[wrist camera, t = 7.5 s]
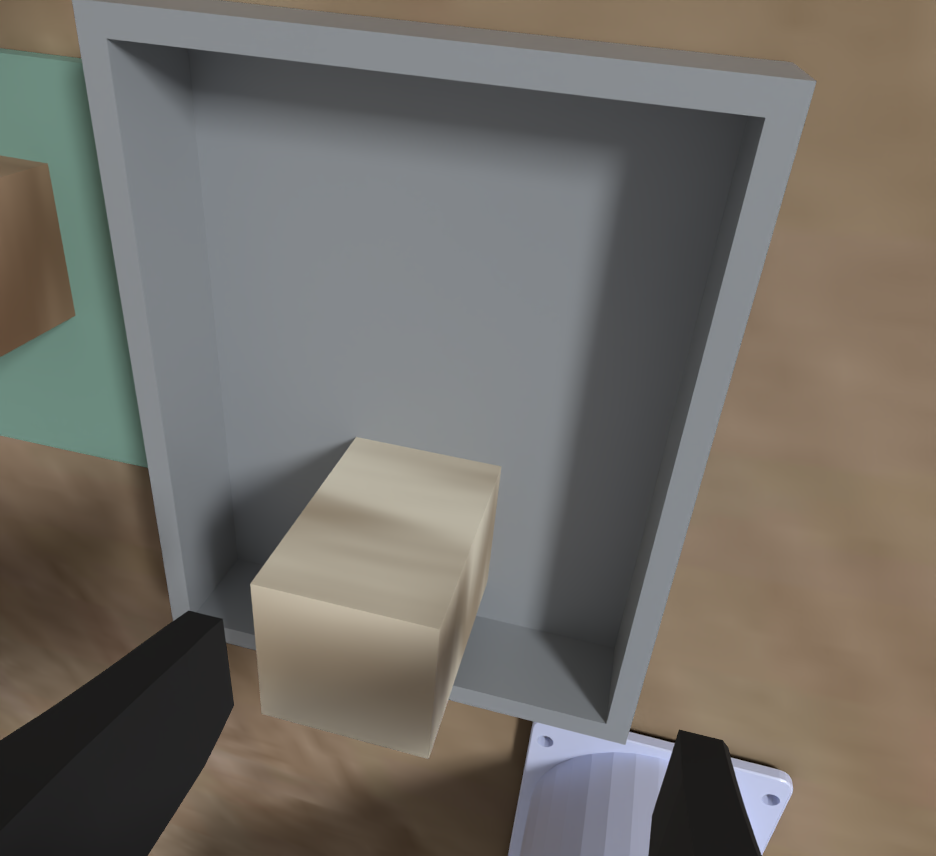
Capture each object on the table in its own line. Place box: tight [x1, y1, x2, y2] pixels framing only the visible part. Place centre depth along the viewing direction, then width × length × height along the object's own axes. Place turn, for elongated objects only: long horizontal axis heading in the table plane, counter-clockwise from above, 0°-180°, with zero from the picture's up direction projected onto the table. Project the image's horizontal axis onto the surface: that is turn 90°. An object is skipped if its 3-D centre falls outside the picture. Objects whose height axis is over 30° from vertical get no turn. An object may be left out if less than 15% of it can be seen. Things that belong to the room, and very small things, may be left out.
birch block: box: [250, 437, 502, 759], centre depth 19 cm, size 4×4×6 cm
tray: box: [72, 0, 816, 745], centre depth 18 cm, size 16×13×3 cm
